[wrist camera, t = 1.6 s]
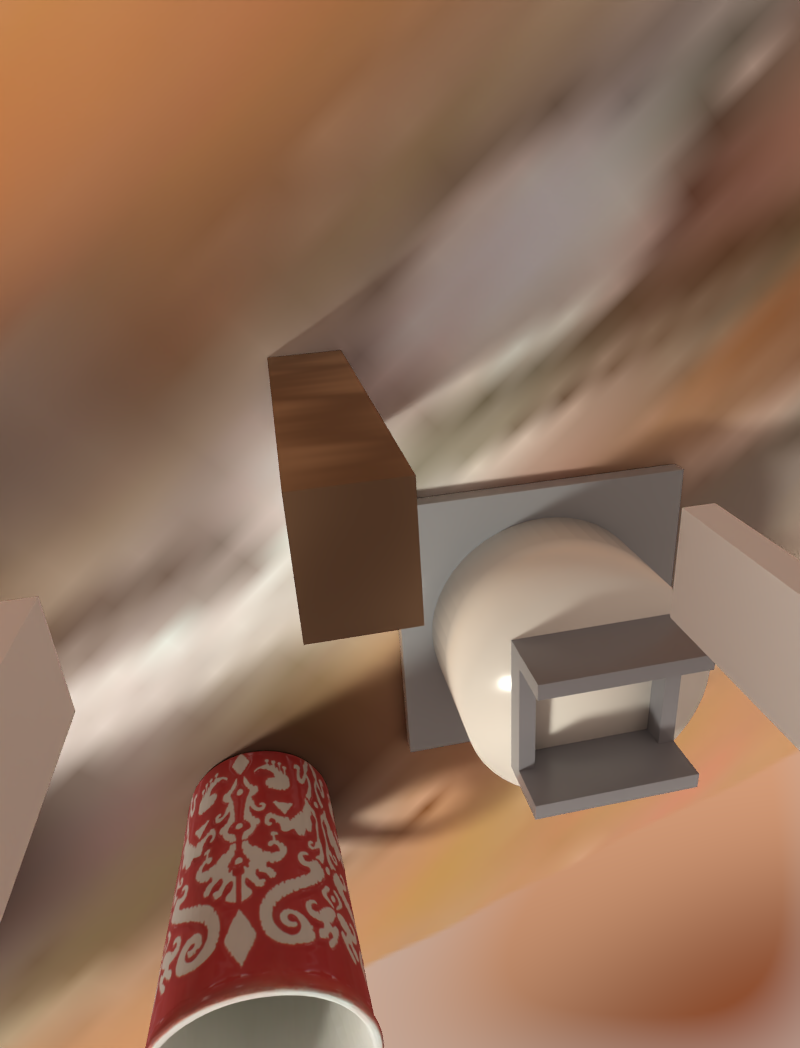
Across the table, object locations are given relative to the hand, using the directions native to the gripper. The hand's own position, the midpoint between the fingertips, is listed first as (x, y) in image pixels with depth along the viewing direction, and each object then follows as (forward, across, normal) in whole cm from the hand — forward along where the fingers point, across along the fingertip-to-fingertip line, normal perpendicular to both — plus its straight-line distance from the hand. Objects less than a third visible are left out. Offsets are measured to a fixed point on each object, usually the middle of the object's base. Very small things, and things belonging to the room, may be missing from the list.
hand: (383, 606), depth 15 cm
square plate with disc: (+17, +10, -12) cm, 23 cm away
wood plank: (+17, 0, 0) cm, 17 cm away
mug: (+17, -5, -23) cm, 29 cm away
